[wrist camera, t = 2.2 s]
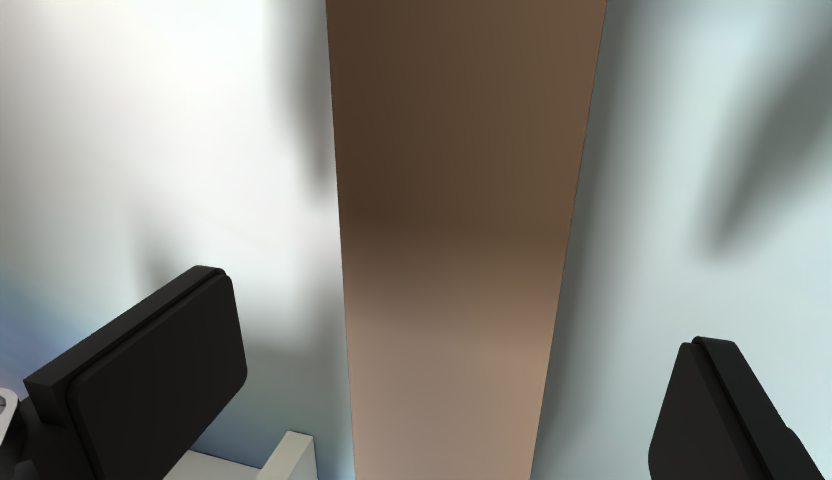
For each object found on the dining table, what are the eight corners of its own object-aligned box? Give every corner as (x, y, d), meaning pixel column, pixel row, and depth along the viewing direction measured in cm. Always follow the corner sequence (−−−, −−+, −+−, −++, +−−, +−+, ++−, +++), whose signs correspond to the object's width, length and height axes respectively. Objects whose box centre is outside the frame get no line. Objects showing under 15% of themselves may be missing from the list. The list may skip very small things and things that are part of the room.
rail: (603, -86, 8) (652, -211, 4) (514, 510, 15) (497, 703, 11) (424, -78, 9) (306, -176, 5) (415, 485, 16) (362, 655, 12)
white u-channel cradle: (230, -311, 9) (-579, -1165, 2) (323, 528, 19) (206, 774, 12) (-42, -260, 10) (-926, -690, 4) (176, 485, 20) (10, 683, 14)
